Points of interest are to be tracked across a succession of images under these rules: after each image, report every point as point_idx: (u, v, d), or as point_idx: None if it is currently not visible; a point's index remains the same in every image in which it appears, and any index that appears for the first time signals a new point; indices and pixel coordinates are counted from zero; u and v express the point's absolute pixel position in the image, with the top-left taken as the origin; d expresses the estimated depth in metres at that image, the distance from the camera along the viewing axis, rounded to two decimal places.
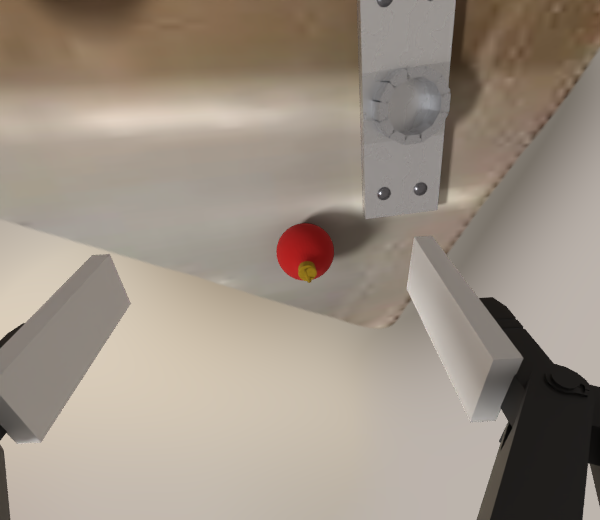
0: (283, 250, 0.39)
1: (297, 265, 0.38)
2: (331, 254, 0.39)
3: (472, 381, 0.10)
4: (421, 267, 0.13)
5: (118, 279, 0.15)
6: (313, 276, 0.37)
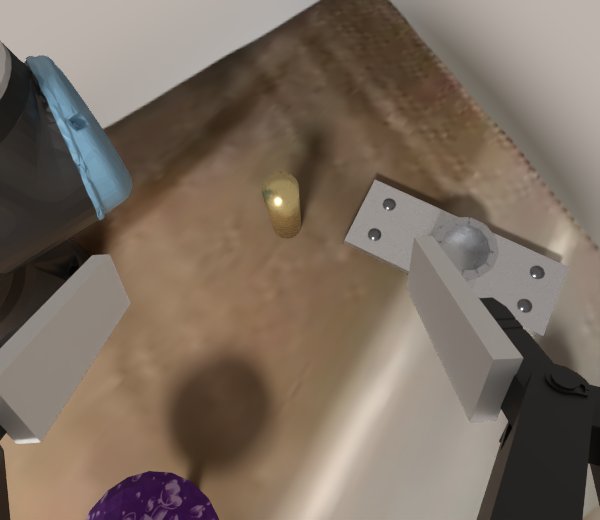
0: None
1: None
2: None
3: (472, 381, 0.10)
4: (421, 267, 0.13)
5: (118, 279, 0.15)
6: None
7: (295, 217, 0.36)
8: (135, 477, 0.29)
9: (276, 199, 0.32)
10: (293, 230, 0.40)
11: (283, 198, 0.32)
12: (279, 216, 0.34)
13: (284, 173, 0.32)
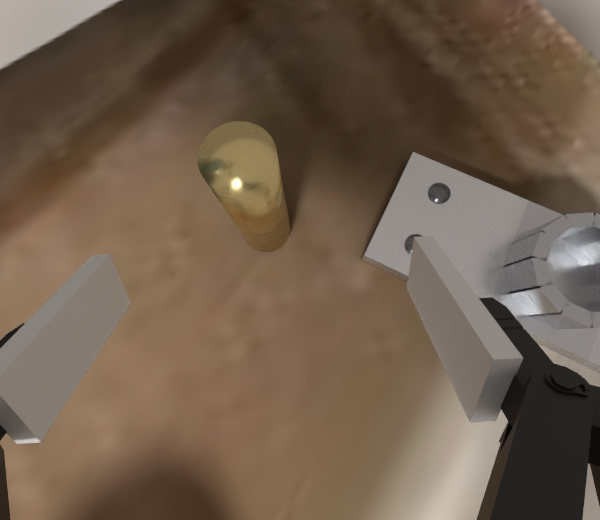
0: None
1: None
2: None
3: (472, 381, 0.10)
4: (421, 267, 0.13)
5: (118, 279, 0.15)
6: None
7: (276, 217, 0.19)
8: None
9: (228, 178, 0.15)
10: (276, 239, 0.23)
11: (244, 176, 0.15)
12: (242, 214, 0.17)
13: (246, 124, 0.15)
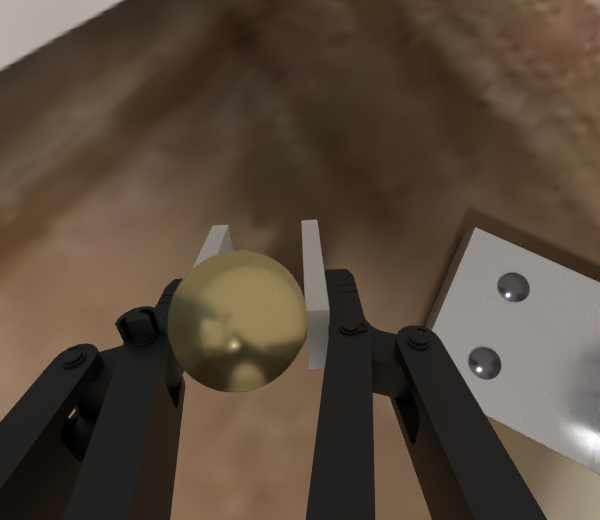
0: None
1: None
2: None
3: None
4: None
5: (231, 248, 0.16)
6: None
7: None
8: None
9: (221, 362, 0.08)
10: None
11: (248, 358, 0.08)
12: None
13: (254, 257, 0.09)
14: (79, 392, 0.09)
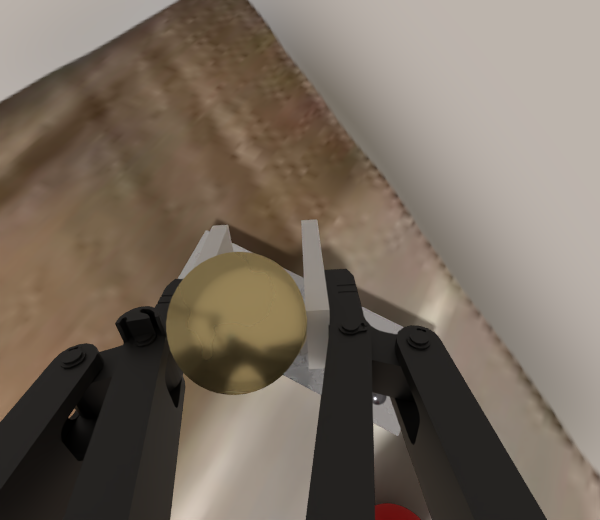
0: None
1: None
2: None
3: None
4: None
5: (232, 248, 0.16)
6: None
7: None
8: None
9: (220, 364, 0.08)
10: None
11: (247, 360, 0.08)
12: None
13: (253, 258, 0.09)
14: (79, 392, 0.09)
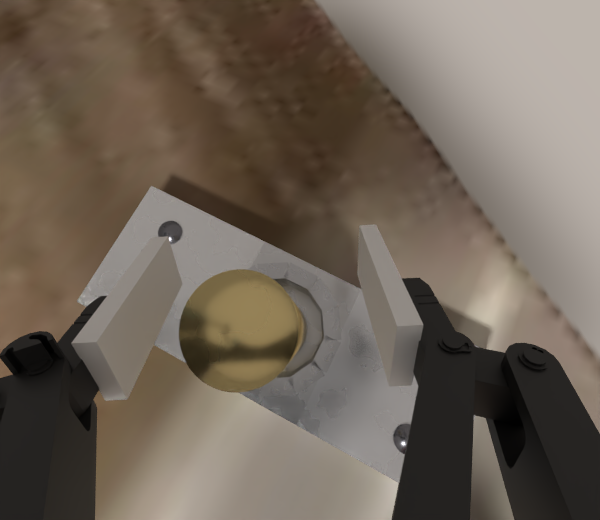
0: None
1: None
2: None
3: (389, 349, 0.11)
4: (363, 252, 0.14)
5: (174, 260, 0.16)
6: None
7: None
8: None
9: (225, 366, 0.10)
10: None
11: (248, 363, 0.10)
12: None
13: (252, 275, 0.10)
14: None
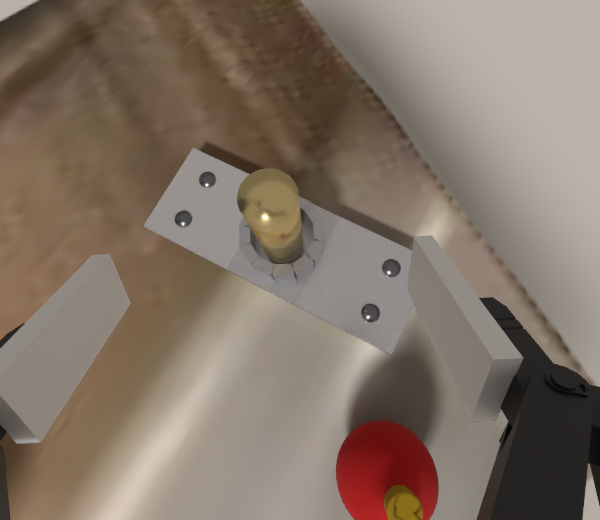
0: (354, 512, 0.22)
1: (386, 514, 0.20)
2: (407, 440, 0.23)
3: (472, 381, 0.10)
4: (421, 267, 0.13)
5: (118, 279, 0.15)
6: (417, 506, 0.19)
7: (294, 238, 0.24)
8: None
9: (261, 215, 0.19)
10: (292, 254, 0.27)
11: (273, 213, 0.19)
12: (269, 239, 0.22)
13: (274, 171, 0.20)
14: None
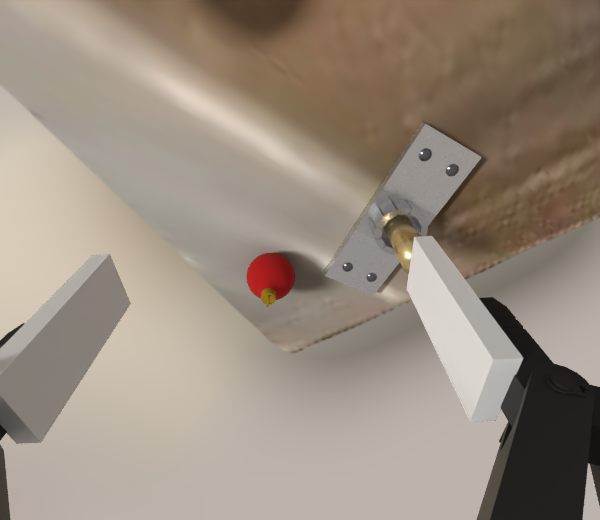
0: (258, 270, 0.46)
1: (263, 287, 0.46)
2: (289, 290, 0.49)
3: (472, 381, 0.10)
4: (421, 267, 0.13)
5: (118, 279, 0.15)
6: (271, 302, 0.45)
7: None
8: None
9: (408, 260, 0.37)
10: (387, 236, 0.45)
11: (409, 265, 0.38)
12: (396, 249, 0.40)
13: None
14: None
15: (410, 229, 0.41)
